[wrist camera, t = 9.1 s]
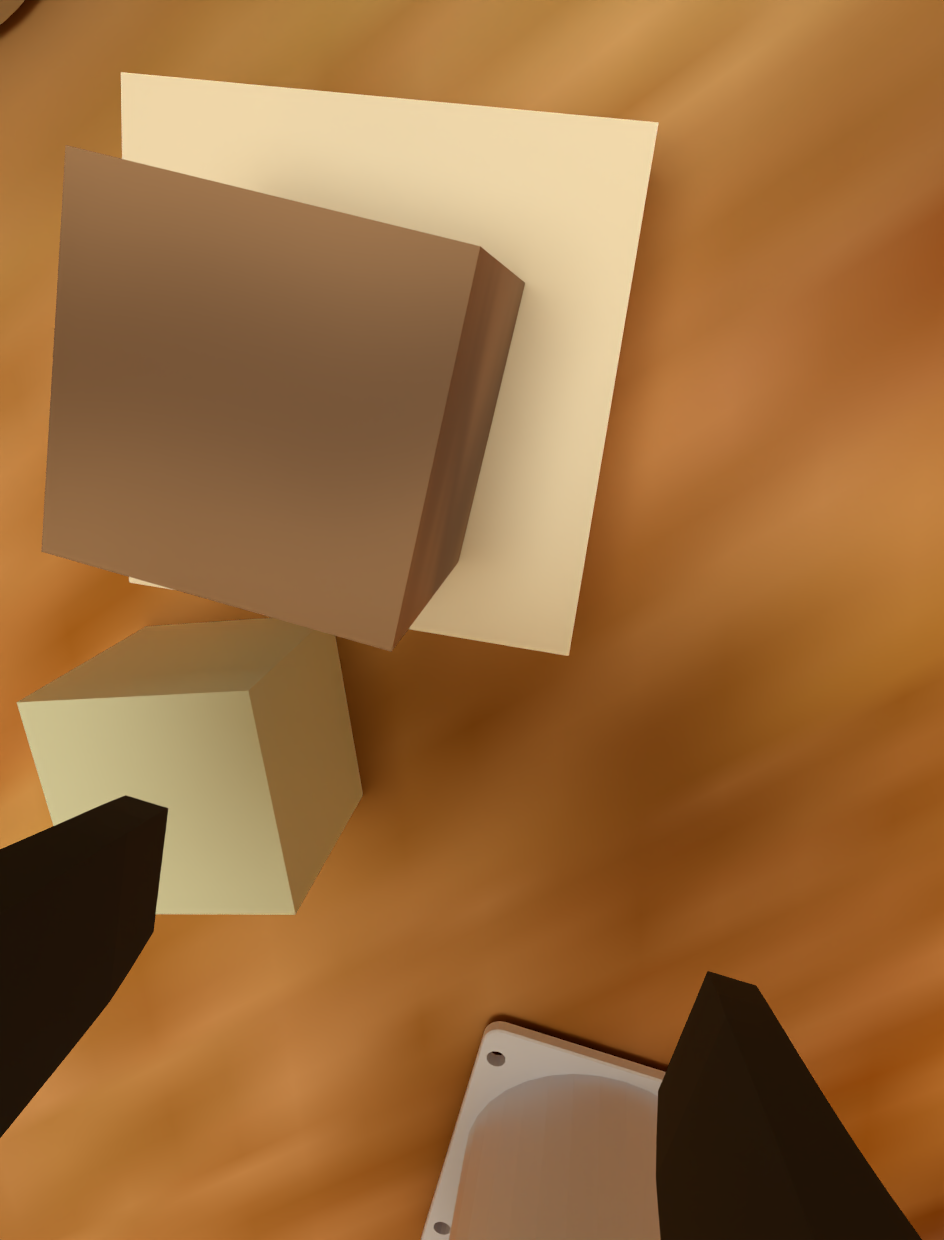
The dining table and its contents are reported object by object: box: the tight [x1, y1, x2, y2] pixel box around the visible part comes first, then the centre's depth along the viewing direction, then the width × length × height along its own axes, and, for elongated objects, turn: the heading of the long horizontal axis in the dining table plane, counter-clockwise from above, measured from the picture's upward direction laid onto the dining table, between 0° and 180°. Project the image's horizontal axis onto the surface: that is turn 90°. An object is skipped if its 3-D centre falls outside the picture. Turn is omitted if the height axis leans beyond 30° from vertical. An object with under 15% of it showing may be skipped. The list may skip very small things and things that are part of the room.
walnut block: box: [42, 145, 525, 652], centre depth 13 cm, size 5×5×5 cm
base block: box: [121, 72, 658, 656], centre depth 17 cm, size 9×9×4 cm
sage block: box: [17, 618, 363, 915], centre depth 19 cm, size 5×5×5 cm
